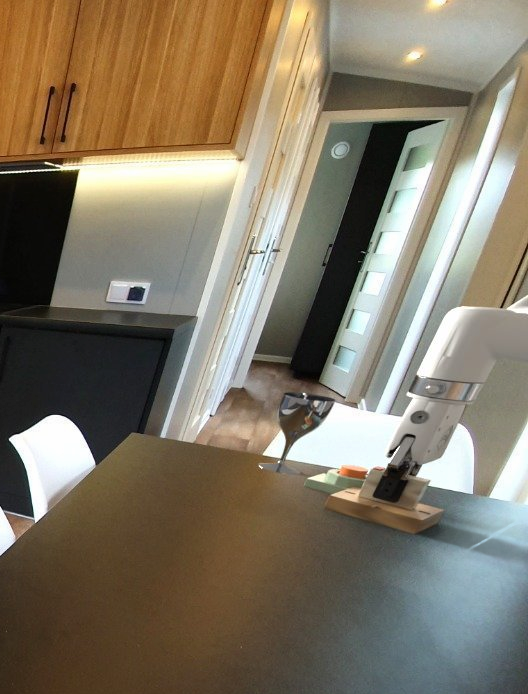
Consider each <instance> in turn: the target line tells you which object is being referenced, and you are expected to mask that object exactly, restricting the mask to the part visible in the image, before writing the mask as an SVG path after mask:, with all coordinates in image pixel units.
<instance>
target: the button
mask: <svg viewBox="0 0 528 694" xmlns="http://www.w3.org/2000/svg"><path fill="white" fill-rule="evenodd" d="M340 469H341V470H340V472H339V474H341V475H343V476H347V477H351V478H358V479H364V478H365V476H366V474H367V475H368V473H369V470H368V469H367V468H365V467H361V466H358V465H351V464H343V465H342V466H341V468H340Z"/></svg>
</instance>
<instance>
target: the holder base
mask: <svg viewBox="0 0 528 694" xmlns="http://www.w3.org/2000/svg"><path fill="white" fill-rule="evenodd" d="M360 490H361V488H357V487H352V488H349V489H346V490H343V491H340V492H337V493H335V494H329V495H328V498H327V500H326V502H325V504H324V507H323V509H326V510H328V511H331V512H336V513H338V514H343V515H346V516H350V517H354V518H356V519H360V520H364V521H366V522H371V523H375V524H378V525H381V526H385V527H389V528H392V529H395V530H400V531H403V532H406V533H409V534H413V535H416V534H418V533H420V532H422V531H425V530H426V529H428V528H430V527H432V526H434V525H437V524H438V523H439V521H440V518H442V516H443V514H444V512H445V509H443V508H439V507H436V506H431V505H427V504H424V503H420V502H419V503H418V505H417V507H416V508H415V509H412V510H408V509H404V508H401V507H397V506H393V505H389V504H386V503H382V502H378V501H374V500H371V499H367V498H363V497H359V496H358V494H359V492H360Z"/></svg>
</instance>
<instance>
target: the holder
mask: <svg viewBox="0 0 528 694" xmlns="http://www.w3.org/2000/svg"><path fill="white" fill-rule="evenodd" d="M385 469H386V467H381V466H375V467H373V468H370V470H369V471H368V473H367V475H368V476H367V478H366V480H365V482H364V484H363V486H362V488H361V490H360V492H359V494H358V496H359V497H363V498H367V499H371V500H374V501H378V502H382V503H386V504H389V505H393V506H397V507H401V508H404V509H408V510H412V509H415V508H416V507H417V505H418V503H420V501H421V499H422V498H423V496H424V494H425V492H426V490H427V488H428V486H429V485H430V483H431V481H432V480H431V479H428V478H424V477H420V476H411V475H409V476H408V478H407V479H406V480H409V481H408V483H407V485H406V487H405V489H404V491H403V493H402V495H401V497H400V499H399V501H398V502H396V503H393V502H389V501H385V500H381V499H377V498H374V497H373V496H372V495H373V493H374V491H375V489H376V487H377V485H378V483H379V481H380V479H381V477H382V475H383V473H384V471H385Z"/></svg>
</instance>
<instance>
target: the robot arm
mask: <svg viewBox="0 0 528 694" xmlns="http://www.w3.org/2000/svg"><path fill="white" fill-rule="evenodd" d="M501 359H502V360H507V361H513V362H519V363H523V364H528V294H527V295H525V296H524V297H523V298H521V299H519V300H518V301H516V302H515V303H513V304H511V305H510V306H508V307H506V308H500V307H485V306H458V307H454V308H452V309H451V310H449V311H448V312H447V313H446V314H445V316H444V317H443V319H442V321H441V322H440V324H439V327H438V329H437V331H436V333H435V335H434V337H433V339H432V341H431V344H430V345H429V347H428V350H427V352H426V354H425V356H424V358H423V360H422V362H421V364H420V366H419V367H418V369H417V372H416V374H415V376H414V378H413V380H412V382H411V384H410V386H409V388H408V390H407V393H406V394H405V396H407V397H410V398H412V399H411V402H409V404H408V406H407V408H406V409H405V412H404V414H403V415H402V417H401V419H400V420H399V422H398V424H397V426H396V428H395V430H394V431H393V433H392V436H391V437H390V440H389V442H388V443H387V445H386V448H385V451H384V455H385V457H386V458H387V459H390V460H389V461H388V463H387V465H386V467H385V471H384V473H383V475H382V477H381V479H380V481H379V483H378V485H377V487H376V489H375V491H374V493H373V495H372V496H373V497H374V498H377V499H381V500H385V501H389V502H393V503H396V502H398V501H399V499H400V497H401V495H402V493H403V491H404V489H405V487H406V485H407V483H408V481H409V480H406V479H407V478H408V476H409V475H411V476H416V477H418V475H419V472H420V470H421V469H422V467H423V465H425V464H428V463H432V462H435V461H437V460H439V459H441V458H442V457H443V456H444V454H445V453H446V450H447V448H448V446H449V444H450V441H451V439H452V437H453V436H454V433H455V431H456V430H457V427H458V425H459V423H460V420H461V418H462V416H463V413H464V410H465V408H466V406H470V405H474V403H475V401H476V399H477V398H478V396H479V393H480V392H481V390H482V389H483V387H484V385H485V383H486V381H487V380H488V377H489V375H490V373H491V371H492V370H493V368H494V366H495V365H496V362H497V360H501Z"/></svg>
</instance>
